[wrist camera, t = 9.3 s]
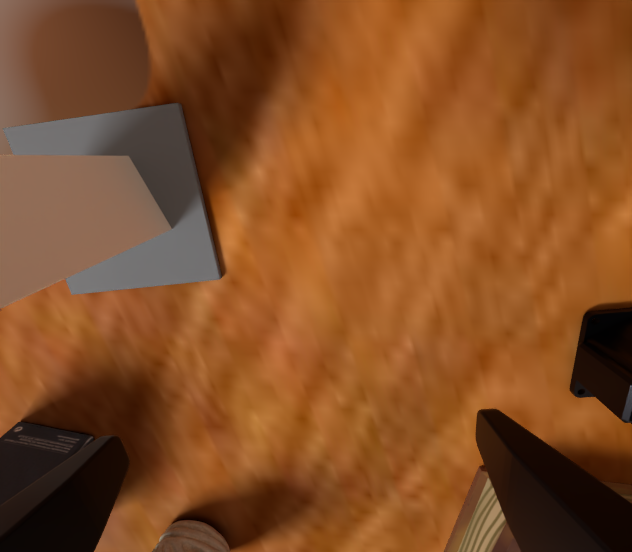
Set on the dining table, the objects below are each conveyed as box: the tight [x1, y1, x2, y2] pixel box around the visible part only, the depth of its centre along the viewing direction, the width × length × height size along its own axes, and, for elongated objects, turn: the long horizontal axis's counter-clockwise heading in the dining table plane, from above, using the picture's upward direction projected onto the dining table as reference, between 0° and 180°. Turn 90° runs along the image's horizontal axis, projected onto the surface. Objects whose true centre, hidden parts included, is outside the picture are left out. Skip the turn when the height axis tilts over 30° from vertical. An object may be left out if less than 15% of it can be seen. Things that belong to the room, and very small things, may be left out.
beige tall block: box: [0, 155, 172, 311], centre depth 13 cm, size 5×5×13 cm
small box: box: [0, 422, 94, 506], centre depth 23 cm, size 11×6×10 cm, turn 168°
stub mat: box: [3, 103, 222, 295], centre depth 19 cm, size 10×10×1 cm
